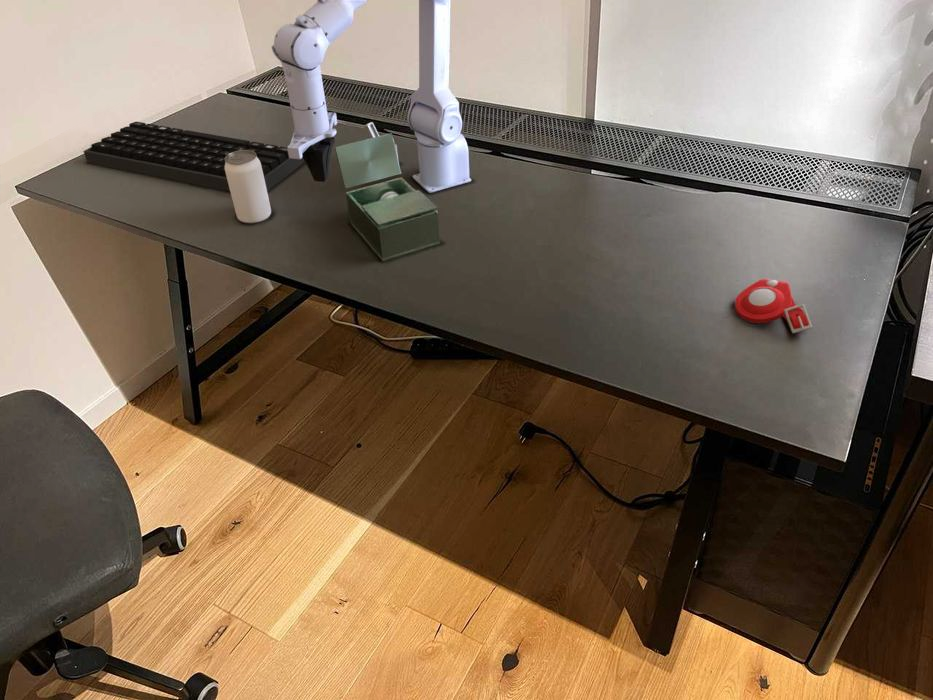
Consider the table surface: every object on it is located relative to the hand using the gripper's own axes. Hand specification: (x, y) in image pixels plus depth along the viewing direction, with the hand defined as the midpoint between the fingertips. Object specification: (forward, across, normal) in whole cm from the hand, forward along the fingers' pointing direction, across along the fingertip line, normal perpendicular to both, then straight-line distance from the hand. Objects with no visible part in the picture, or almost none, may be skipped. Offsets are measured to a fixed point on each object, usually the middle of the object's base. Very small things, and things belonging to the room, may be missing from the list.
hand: (321, 179), depth 133 cm
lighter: (+10, +29, +1) cm, 30 cm away
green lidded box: (+10, +2, -12) cm, 16 cm away
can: (+10, +2, +16) cm, 19 cm away
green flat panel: (-1, +8, -6) cm, 10 cm away
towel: (+5, +6, -11) cm, 13 cm away
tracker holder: (+10, -8, -76) cm, 77 cm away
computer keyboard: (+10, +19, +40) cm, 46 cm away
